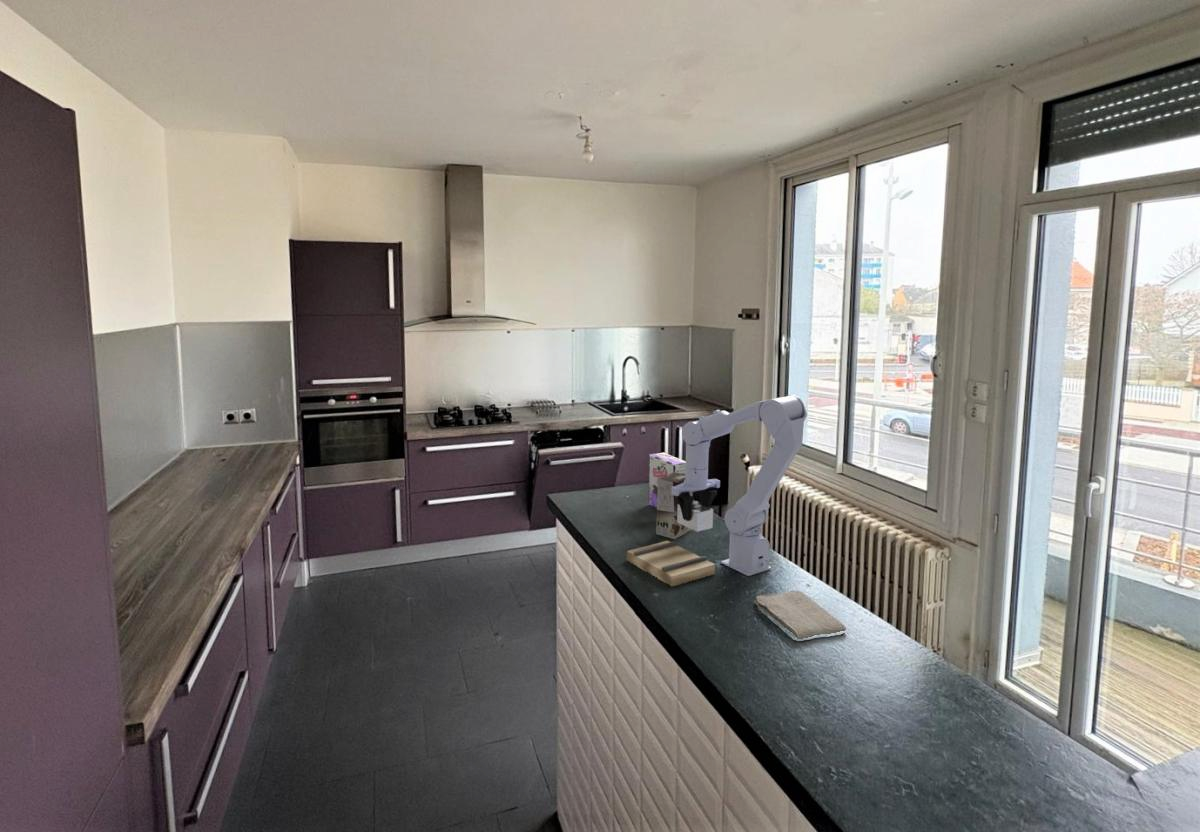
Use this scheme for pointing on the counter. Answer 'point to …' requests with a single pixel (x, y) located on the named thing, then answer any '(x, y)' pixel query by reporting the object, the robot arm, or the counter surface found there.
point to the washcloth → (799, 614)
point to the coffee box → (669, 507)
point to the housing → (697, 517)
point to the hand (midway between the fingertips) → (695, 517)
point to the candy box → (662, 472)
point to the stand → (671, 563)
